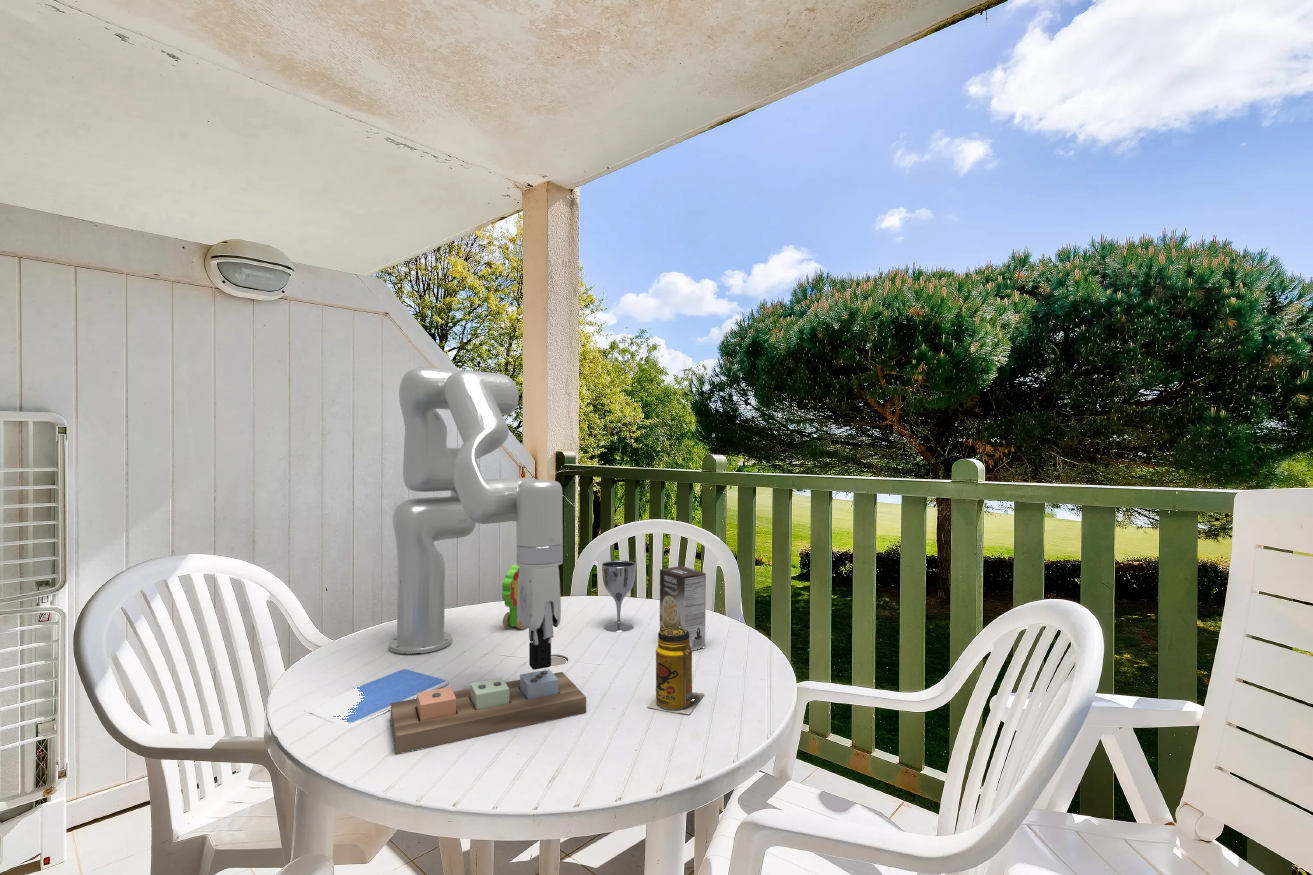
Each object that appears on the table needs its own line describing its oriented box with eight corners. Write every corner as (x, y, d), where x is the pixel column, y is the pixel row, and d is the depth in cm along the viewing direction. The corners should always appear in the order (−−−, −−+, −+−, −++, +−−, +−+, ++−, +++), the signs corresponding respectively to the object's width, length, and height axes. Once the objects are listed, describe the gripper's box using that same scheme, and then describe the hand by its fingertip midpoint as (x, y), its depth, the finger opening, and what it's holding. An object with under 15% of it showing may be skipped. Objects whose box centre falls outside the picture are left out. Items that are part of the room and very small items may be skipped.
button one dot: (417, 712, 91) (417, 691, 91) (450, 705, 93) (451, 685, 93) (420, 725, 86) (420, 703, 87) (456, 718, 89) (456, 697, 89)
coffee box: (658, 642, 129) (658, 568, 129) (681, 636, 133) (681, 565, 133) (683, 654, 122) (683, 576, 122) (707, 648, 125) (707, 572, 125)
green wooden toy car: (533, 614, 151) (533, 554, 151) (551, 616, 149) (552, 556, 149) (495, 632, 136) (495, 566, 136) (515, 634, 134) (515, 567, 135)
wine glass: (606, 621, 144) (606, 560, 145) (638, 622, 143) (638, 560, 144) (598, 631, 137) (598, 566, 137) (632, 632, 135) (632, 567, 136)
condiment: (646, 708, 96) (646, 634, 97) (665, 688, 104) (665, 620, 104) (689, 715, 94) (689, 639, 94) (704, 695, 102) (704, 625, 102)
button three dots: (520, 692, 98) (520, 673, 98) (549, 686, 101) (549, 667, 101) (528, 703, 94) (528, 683, 94) (558, 697, 96) (558, 678, 96)
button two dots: (470, 702, 95) (470, 681, 95) (501, 695, 97) (502, 676, 97) (476, 714, 90) (476, 693, 90) (509, 707, 93) (509, 687, 93)
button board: (390, 719, 92) (390, 702, 92) (562, 685, 105) (562, 671, 105) (396, 754, 82) (396, 736, 82) (586, 712, 95) (586, 696, 95)
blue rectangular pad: (349, 732, 89) (349, 723, 89) (301, 713, 95) (301, 705, 95) (450, 687, 106) (450, 680, 106) (404, 674, 112) (404, 667, 112)
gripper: (506, 550, 103) (506, 657, 102) (529, 564, 89) (530, 686, 89) (548, 547, 106) (548, 649, 105) (576, 559, 93) (577, 677, 92)
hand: (540, 666), depth 97 cm, fingers closed
